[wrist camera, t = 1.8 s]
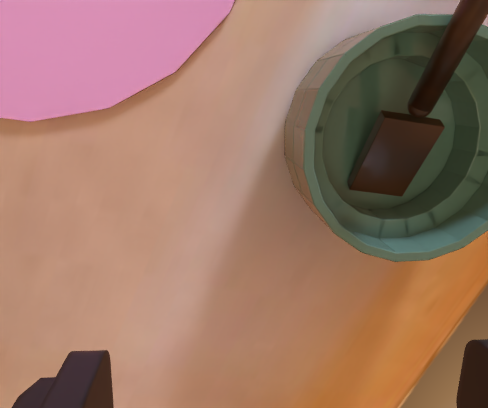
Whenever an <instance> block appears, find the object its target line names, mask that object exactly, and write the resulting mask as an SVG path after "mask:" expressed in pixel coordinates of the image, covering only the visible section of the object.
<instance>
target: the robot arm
mask: <svg viewBox="0 0 488 408" xmlns="http://www.w3.org/2000/svg"><path fill="white" fill-rule="evenodd" d="M12 408H114V407H113V393H112V378H111V363H110V355H109V352H108V351H107V350H102V351H72V352H70V353H69V354H68V356H67V358H66V359H65V361H64V363H63V365H62V367H61V369H60V370H59V372H58V374H57V376H56V377H54V378H40V379H39V380H38V381H37V382H35V383H34V384H33V385H32V386H31V387H29V388H28V389H27V390H26V391H25V392H23V393H22V394H21V395H20V396H19V397H18V398H17V400H16V402H15V403H14V405H13V406H12ZM457 408H488V339H487V340H472V341H469V342H468V343H467V345H466V347H465V351H464V357H463V363H462V369H461V375H460V381H459V387H458V393H457Z"/></svg>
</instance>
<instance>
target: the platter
mask: <svg viewBox="0 0 488 408" xmlns="http://www.w3.org/2000/svg"><path fill="white" fill-rule="evenodd" d="M234 1H235V0H0V118H7V119H14V120H22V121H29V122H32V121H38V120H43V119H49V118H55V117H61V116H67V115H72V114H78V113H84V112H90V111H95V110H101V109H107V108H110V107H112V106H114V105H116V104H117V103H119V102H121V101H123V100H125V99H127V98H128V97H130V96H132V95H134V94H136V93H138V92H139V91H141V90H143V89H145V88H147V87H149V86H150V85H152V84H154V83H156V82H158V81H160V80H161V79H163V78H165V77H167V76H169V75H170V74H172V73H174V72H176V71H177V70H178V69H179V68H180V66H181V65H182V64H183V63H184V62H185V61H186V60H187V59H188V58H189V57H190V55H191V54H192V53H193V52H194V51H195V50H196V49H197V48H198V47H199V46H200V45H201V43H202V42H203V41H204V40H205V39H206V38H207V37H208V36H209V35H210V34H211V32H212V31H213V30H214V29H215V28H216V27H217V26H218V25H219V24H220V23H221V22H222V20H223V19H224V18H225V17H226V16H227V15H228V14H229V12H230V10H231V8H232V6H233V3H234Z"/></svg>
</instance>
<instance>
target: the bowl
mask: <svg viewBox="0 0 488 408" xmlns="http://www.w3.org/2000/svg"><path fill="white" fill-rule="evenodd" d="M452 16H453V15H452V14H418V15H417V14H416V15H413V16H410V17H407V18H405V19H402V20H399V21H396V22H393V23H390V24H387V25H384V26H381V27H378V28H376V29H373V30H370V31H367V32H365V33H362V34H359V35H356V36H353V37H351V38H348V39H345V40H344V41H342V42H341V43H340V44H338V45H337V46H336V47H334V48H333V49H332V50H330V51H329V52H328V53H326V54H325V55H324V56H322V57H321V58H320V59H319V60H318V61H317V62H315V64H314V65H313V67H312V68H311V70H310V71H309V72H308V74H307V75H306V77H305V78H304V79H303V81H302V82H301V84H300V85H299V86H298V88H297V90H296V91H295V94H294V97H293V100H292V103H291V106H290V109H289V112H288V115H287V118H286V121H285V153H284V155H285V159H286V162H287V165H288V169H289V172H290V175H291V179H292V182H293V185H294V187H295V188H296V190H297V191H298V193H299V194H300V195H301V197H302V198H303V199H304V201H305V202H306V204H307V205H308V206H309V208H310V209H311V210H312V211H313V212H314V213H315V214H316V215H317V216H318V217H319V218H320V219H321V220H322V221H323V222H324V223H325V224H326V225H327V227H328V228H329V229H330V230H331V231H332V232H333V233H334V234H336V235H337V236H338V237H340V238H341V239H343V240H344V241H346V242H347V243H349V244H350V245H351V246H353V247H354V248H356V249H357V250H359V251H360V252H362V253H365V254H368V255H372V256H376V257H379V258H383V259H387V260H390V261H395V262H400V261H420V260H430V259H433V258H436V257H439V256H441V255H444V254H447V253H450V252H453V251H456V250H458V249H461V248H463V247H465V246H466V245H468V244H469V243H471V242H472V241H473V240H475V239H476V238H478V237H479V236H481V235H482V234H483V233H485V232H486V231H488V27H487V26H485V25H481V27H480V28H479V30H478V32H477V34H476V35H475V37H474V39H473V41H472V42H471V44H470V46H469V48H468V49H467V51H466V53H465V55H464V56H463V58H462V60H461V62H460V63H459V65H458V67H457V68H456V70H455V72H454V74H453V75H452V77H451V79H450V81H449V82H448V84H447V86H446V88H445V89H444V91H443V93H442V95H441V96H440V98H439V100H438V102H437V103H436V105H435V107H434V108H433V110H432V112H431V113H430V114H429V115H427V116H425V117H428V118H434V119H440V120H441V122H442V123H443V125H444V126H445V128H444V130H443V131H442V133H441V135H440V136H439V138H438V139H437V141H436V143H435V144H434V146H433V148H432V149H431V151H430V152H429V154H428V156H427V157H426V159H425V160H424V162H423V164H422V165H421V167H420V169H419V170H418V172H417V173H416V175H415V177H414V178H413V180H412V181H411V183H410V185H409V186H408V188H407V190H406V191H405V193H404V194H403V196H402V197H400V196H393V195H385V194H377V193H370V192H362V191H354V190H349V187H348V183H347V181H348V179H349V177H350V175H351V172H352V170H353V168H354V166H355V164H356V162H357V160H358V158H359V156H360V154H361V151H362V149H363V147H364V145H365V143H366V141H367V139H368V137H369V135H370V133H371V130H372V128H373V126H374V124H375V122H376V120H377V118H378V116H379V114H380V112H381V110H384V111H390V112H397V113H403V114H409V115H411V114H410V113H409V111H408V109H407V103H408V101H409V98H410V97H411V95H412V93H413V91H414V89H415V87H416V85H417V83H418V81H419V79H420V77H421V75H422V73H423V72H424V70H425V68H426V66H427V64H428V62H429V60H430V58H431V56H432V54H433V52H434V50H435V48H436V47H437V45H438V43H439V41H440V39H441V37H442V35H443V33H444V31H445V29H446V27H447V25H448V23H449V21H450V20H451V18H452Z"/></svg>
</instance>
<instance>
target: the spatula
mask: <svg viewBox="0 0 488 408" xmlns="http://www.w3.org/2000/svg"><path fill="white" fill-rule="evenodd" d="M487 15H488V0H460V2H459V4H458V6H457V8H456V10H455V12H454V14H453V16H452V18H451V20H450V21H449V23H448V25H447V27H446V29H445V31H444V33H443V35H442V37H441V39H440V41H439V43H438V45H437V47H436V48H435V50H434V52H433V54H432V56H431V58H430V60H429V62H428V64H427V66H426V68H425V70H424V72H423V73H422V75H421V77H420V79H419V81H418V83H417V85H416V87H415V89H414V91H413V93H412V95H411V97H410V98H409V101H408V103H407V109H408V111H409V113H410V114H411V115H409V114H403V113H397V112H390V111H384V110H381V112H380V114H379V116H378V118H377V120H376V122H375V124H374V126H373V128H372V130H371V133H370V135H369V137H368V139H367V141H366V143H365V145H364V147H363V149H362V151H361V154H360V156H359V158H358V160H357V162H356V164H355V166H354V168H353V170H352V172H351V175H350V177H349V179H348V181H347V183H348V187H349V190H354V191H362V192H370V193H377V194H385V195H393V196H400V197H402V196H403V194H404V193H405V191H406V190H407V188H408V186H409V185H410V183H411V181H412V180H413V178H414V177H415V175H416V173H417V172H418V170H419V169H420V167H421V165H422V164H423V162H424V160H425V159H426V157H427V156H428V154H429V152H430V151H431V149H432V148H433V146H434V144H435V143H436V141H437V139H438V138H439V136H440V135H441V133H442V131H443V130H444V128H445V126H444V125H443V123H442V122H441V120H440V119H434V118H428V117H425V116H427V115H429V114H430V113H431V112H432V110H433V108H434V107H435V105H436V103H437V102H438V100H439V98H440V96H441V95H442V93H443V91H444V89H445V88H446V86H447V84H448V82H449V81H450V79H451V77H452V75H453V74H454V72H455V70H456V68H457V67H458V65H459V63H460V62H461V60H462V58H463V56H464V55H465V53H466V51H467V49H468V48H469V46H470V44H471V42H472V41H473V39H474V37H475V35H476V34H477V32H478V30H479V28H480V27H481V25H482V23H483V22H484V20H485V18H486V16H487Z"/></svg>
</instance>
